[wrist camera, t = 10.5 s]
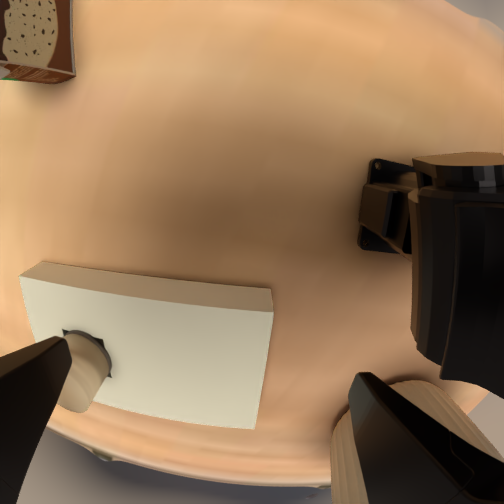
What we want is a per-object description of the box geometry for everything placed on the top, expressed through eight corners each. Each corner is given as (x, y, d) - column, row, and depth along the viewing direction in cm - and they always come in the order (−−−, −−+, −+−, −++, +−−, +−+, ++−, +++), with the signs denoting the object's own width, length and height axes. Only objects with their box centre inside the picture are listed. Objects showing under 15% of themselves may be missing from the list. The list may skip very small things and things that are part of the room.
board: (270, 288, 21) (274, 312, 18) (254, 401, 24) (254, 429, 21) (42, 261, 20) (18, 275, 17) (67, 366, 24) (52, 386, 21)
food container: (24, 23, 13) (-40, -2, 3) (72, -11, 13) (13, -52, 3) (26, 124, 17) (-61, 124, 7) (78, 91, 16) (-14, 67, 7)
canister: (305, 466, 29) (321, 601, 9) (307, 373, 23) (352, 608, 3) (427, 434, 28) (476, 543, 8) (468, 334, 23) (576, 467, 3)
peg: (118, 319, 21) (79, 374, 14) (126, 364, 22) (96, 420, 15) (72, 310, 21) (27, 355, 14) (82, 353, 22) (47, 401, 15)
